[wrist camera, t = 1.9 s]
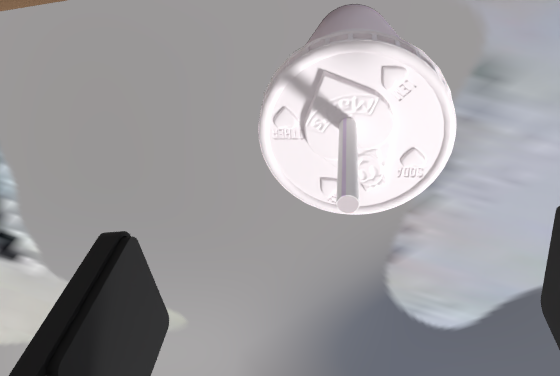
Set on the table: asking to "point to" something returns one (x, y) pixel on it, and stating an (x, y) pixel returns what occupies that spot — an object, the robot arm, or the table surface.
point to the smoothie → (357, 117)
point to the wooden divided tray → (22, 3)
